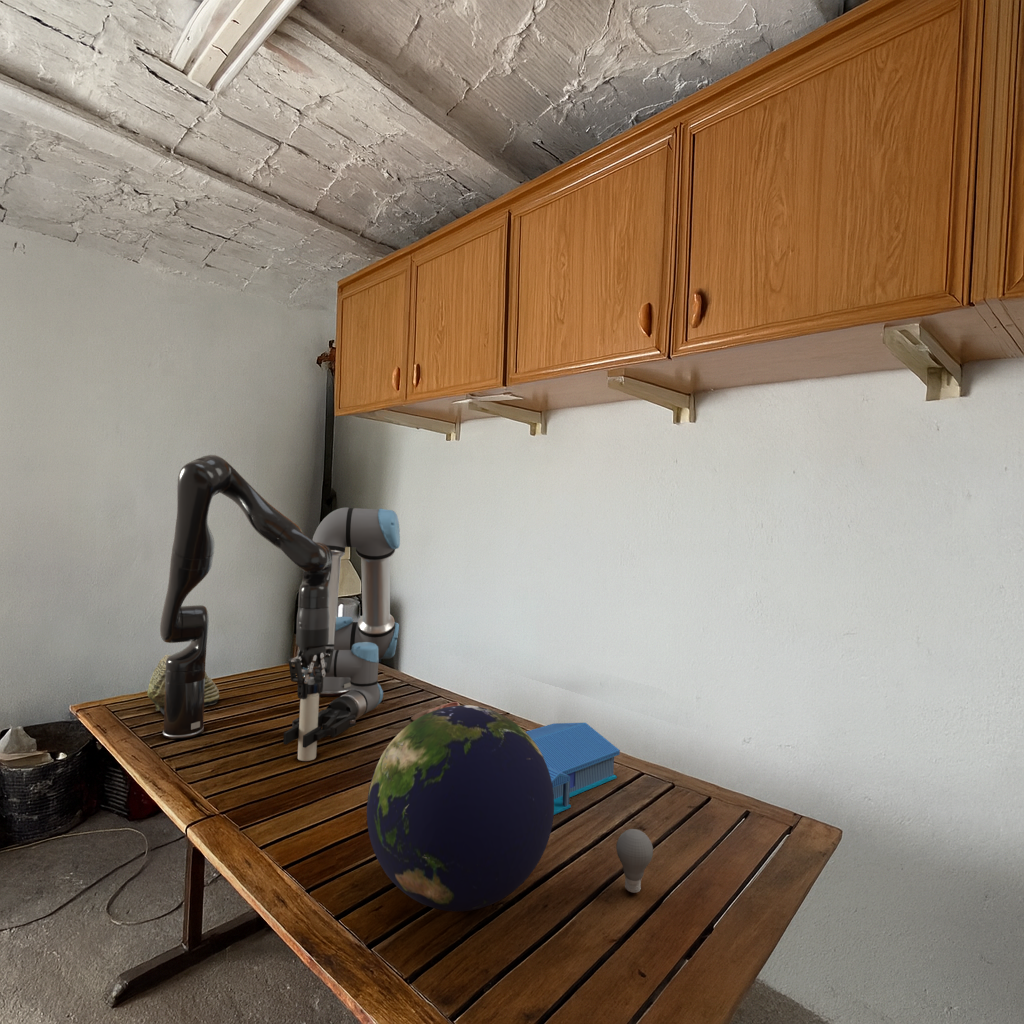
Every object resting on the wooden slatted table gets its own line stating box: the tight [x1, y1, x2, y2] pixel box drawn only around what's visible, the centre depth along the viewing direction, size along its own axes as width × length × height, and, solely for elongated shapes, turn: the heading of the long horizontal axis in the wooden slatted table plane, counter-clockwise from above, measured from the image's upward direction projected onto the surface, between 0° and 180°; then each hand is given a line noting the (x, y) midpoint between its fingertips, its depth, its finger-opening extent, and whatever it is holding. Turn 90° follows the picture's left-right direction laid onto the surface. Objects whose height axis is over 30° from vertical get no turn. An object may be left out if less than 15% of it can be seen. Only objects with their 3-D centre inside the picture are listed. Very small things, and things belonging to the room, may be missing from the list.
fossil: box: [147, 654, 221, 712], centre depth 185 cm, size 9×18×15 cm, turn 132°
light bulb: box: [615, 828, 654, 894], centre depth 106 cm, size 6×6×10 cm
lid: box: [307, 678, 322, 694], centre depth 153 cm, size 5×5×2 cm
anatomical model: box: [410, 701, 461, 722], centre depth 184 cm, size 13×4×12 cm
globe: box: [366, 704, 555, 913], centre depth 102 cm, size 30×30×30 cm
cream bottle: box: [297, 693, 320, 762], centre depth 153 cm, size 4×4×17 cm
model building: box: [525, 722, 621, 816], centre depth 143 cm, size 39×24×10 cm, turn 132°
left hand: (310, 694), depth 153 cm, fingers closed on lid, 5 cm apart
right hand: (294, 740), depth 148 cm, fingers closed on cream bottle, 4 cm apart
